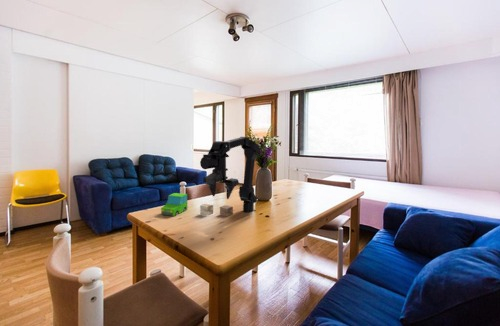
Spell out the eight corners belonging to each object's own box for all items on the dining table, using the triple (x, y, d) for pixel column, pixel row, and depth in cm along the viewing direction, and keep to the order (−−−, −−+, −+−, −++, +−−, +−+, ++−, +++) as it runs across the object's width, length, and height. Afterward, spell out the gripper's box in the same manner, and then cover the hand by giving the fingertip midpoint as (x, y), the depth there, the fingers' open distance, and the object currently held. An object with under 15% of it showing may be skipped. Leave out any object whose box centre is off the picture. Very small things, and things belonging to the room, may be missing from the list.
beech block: (206, 211, 134) (206, 203, 133) (213, 213, 131) (213, 204, 130) (200, 214, 129) (200, 205, 129) (206, 215, 127) (206, 206, 126)
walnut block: (225, 213, 134) (225, 204, 133) (232, 215, 131) (232, 206, 130) (219, 215, 130) (220, 207, 129) (227, 217, 127) (227, 208, 126)
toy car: (158, 216, 127) (158, 198, 126) (173, 209, 139) (173, 192, 138) (175, 218, 124) (174, 200, 123) (189, 211, 136) (188, 194, 135)
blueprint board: (207, 209, 139) (207, 208, 139) (220, 213, 134) (220, 211, 134) (189, 216, 128) (189, 214, 128) (202, 220, 122) (202, 218, 122)
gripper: (194, 167, 115) (195, 198, 117) (224, 170, 105) (225, 204, 107) (210, 164, 124) (210, 193, 126) (239, 167, 114) (239, 198, 116)
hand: (220, 197), depth 119 cm, fingers open, 9 cm apart
